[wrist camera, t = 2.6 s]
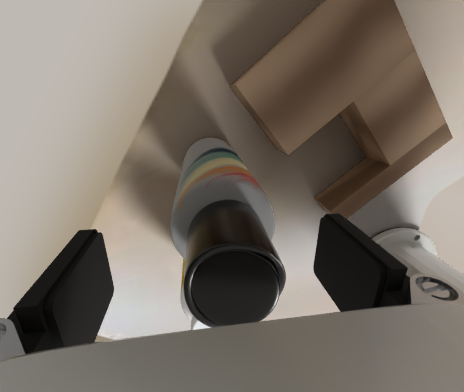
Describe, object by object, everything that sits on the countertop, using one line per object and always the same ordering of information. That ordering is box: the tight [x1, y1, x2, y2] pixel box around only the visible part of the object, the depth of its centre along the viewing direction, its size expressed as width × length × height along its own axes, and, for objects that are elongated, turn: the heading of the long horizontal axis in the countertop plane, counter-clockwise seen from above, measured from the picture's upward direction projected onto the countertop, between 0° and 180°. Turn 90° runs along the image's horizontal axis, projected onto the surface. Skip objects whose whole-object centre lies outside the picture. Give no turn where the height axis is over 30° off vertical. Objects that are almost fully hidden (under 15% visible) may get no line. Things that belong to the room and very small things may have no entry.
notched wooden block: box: [230, 0, 453, 218], centre depth 25 cm, size 18×14×4 cm
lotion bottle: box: [170, 138, 286, 327], centre depth 18 cm, size 6×6×20 cm
